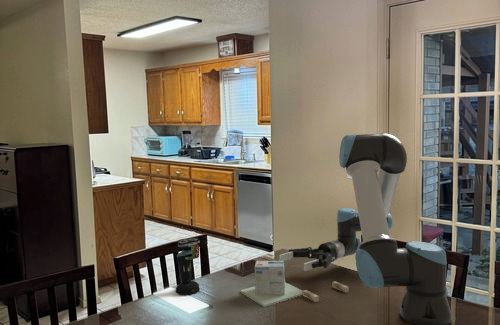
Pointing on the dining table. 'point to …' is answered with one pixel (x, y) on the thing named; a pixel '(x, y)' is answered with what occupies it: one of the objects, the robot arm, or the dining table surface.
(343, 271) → the dining table surface
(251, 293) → the mat
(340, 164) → the robot arm
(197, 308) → the dining table surface
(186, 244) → the cordless drill
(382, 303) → the dining table surface
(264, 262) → the light bulb box
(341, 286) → the beige rectangular blocks
